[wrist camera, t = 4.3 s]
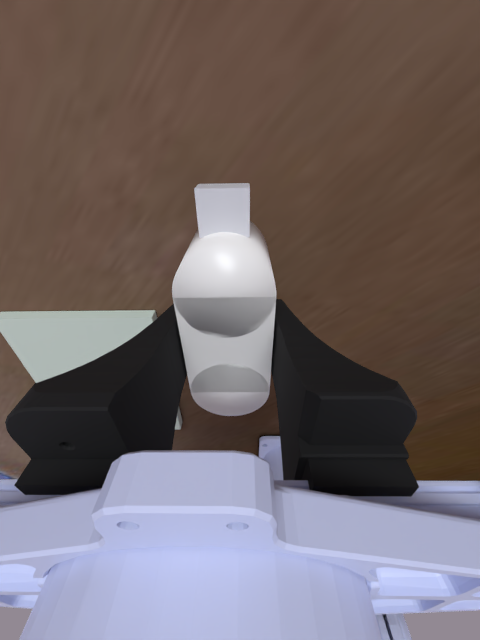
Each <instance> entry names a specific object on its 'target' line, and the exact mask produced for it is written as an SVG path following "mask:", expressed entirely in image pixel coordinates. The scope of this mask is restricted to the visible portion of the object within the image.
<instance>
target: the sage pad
mask: <svg viewBox="0 0 480 640" xmlns="http://www.w3.org/2000/svg"><path fill="white" fill-rule="evenodd" d="M156 319H157V315H156V311H155V310H130V311H26V312H0V332H1V333H2V335H3V336H4V337H5V339H6V340H7V342H8V343H9V345H10V346H11V348H12V349H13V350H14V352H15V353H16V355H17V356H18V358H19V359H20V361H21V362H22V363H23V365H24V366H25V368H26V369H27V371H28V372H29V374H30V375H31V376H32V378H33V379H34V381H35V382H36V383H37V382H40V381H43V380H46V379H49V378H52V377H54V376H57V375H60V374H63V373H65V372H68V371H70V370H73V369H75V368H77V367H80V366H82V365H84V364H86V363H89V362H91V361H93V360H95V359H97V358H99V357H101V356H103V355H104V354H106V353H108V352H110V351H112V350H114V349H116V348H117V347H119V346H121V345H122V344H124V343H125V342H127V341H128V340H130V339H131V338H133V337H134V336H136V335H137V334H139V333H140V332H141V331H142V330H144V329H145V328H146V327H147V326H149V325H150V324H151V323H152V322H154V321H155V320H156ZM181 426H182V417H181V413H180V409H179V407H178V413H177V418H176V425H175V429H181Z"/></svg>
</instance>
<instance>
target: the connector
mask: <svg viewBox="0 0 480 640" xmlns="http://www.w3.org/2000/svg"><path fill="white" fill-rule="evenodd" d="M194 191H195V200H196V210H197V219H198V228H199V229H198V230H197V232H196V234H195V236H194V237H193V240H192V242H191V244H190V246H189V248H188V250H187V252H186V254H185V256H184V258H183V260H182V262H181V264H180V266H179V268H178V270H177V272H176V274H175V277H174V280H173V285H172V296H173V302H174V307H175V312H176V318H177V323H178V328H179V333H180V338H181V344H182V349H183V354H184V359H185V365H186V370H187V375H188V380H189V386H190V391H191V395H192V397H193V399H194V400H195V402H196V403H197V404H198V405H199V406H200V407H202V408H203V409H205V410H207V411H209V412H211V413H214V414H218V415H223V416H240V415H245V414H248V413H251V412H254V411H255V410H257V409H259V408H260V407H261V406H263V405H264V403H265V402H266V401H267V399H268V397H269V392H270V378H271V364H272V350H273V336H274V322H275V308H276V286H275V281H274V276H273V272H272V267H271V262H270V258H269V253H268V248H267V244H266V241H265V238H264V236H263V234H262V233H261V231H260V230H259V229H258V227H257V226H256V225H255V224H253V223H252V222H251V221H250V185H249V183H228V184H198V185H197V186H196V187H195V188H194Z"/></svg>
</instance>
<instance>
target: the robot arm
mask: <svg viewBox="0 0 480 640" xmlns="http://www.w3.org/2000/svg"><path fill="white" fill-rule="evenodd" d="M271 371H272V376H273V381H274V386H275V391H276V398H277V407H278V418H279V429H280V436H262V437H260V439H259V457H258V456H256V455H254V454H253V453H247V452H240V451H215V450H172V444H173V438H174V431H175V425H176V418H177V413H178V407H179V401H180V397H181V392H182V389H183V385H184V382H185V379H186V375H187V370H186V365H185V359H184V354H183V349H182V344H181V338H180V333H179V328H178V323H177V318H176V312H175V307H174V304H173V305H172V306H170V307H169V308H168V309H167V310H166V311H165V312H164V313H163V314H162V315H161V316H159V317H158V318H157V319H156V320H155V321H154V322H152V323H151V324H150V325H149V326H147V327H146V328H145V329H144V330H142V331H141V332H140V333H139V334H137V335H136V336H134V337H133V338H131V339H130V340H128V341H127V342H125V343H124V344H122V345H121V346H119V347H117V348H116V349H114V350H112V351H110V352H108V353H106V354H104V355H103V356H101V357H99V358H97V359H95V360H93V361H91V362H89V363H86V364H84V365H82V366H80V367H77V368H75V369H73V370H70V371H68V372H65V373H63V374H60V375H57V376H54V377H52V378H49V379H46V380H43V381H40V382H37V383H35V384H34V385H33V386H32V388H31V389H30V390H29V391H28V392H27V394H26V395H25V396H24V397H23V398H22V400H21V401H20V402H19V403H18V404H17V405H16V407H15V408H14V409H13V410H12V411H11V413H10V414H9V415H8V416H7V419H6V422H5V423H6V428H7V431H8V433H9V434H10V436H11V437H12V438H13V439H14V441H15V442H16V443H17V444H18V445H19V446H20V447H21V448H22V449H23V450H24V451H25V452H26V453H27V454H28V456H29V457H30V458H31V461H30V462H29V464H28V465H27V467H26V468H25V470H24V471H23V473H22V474H21V476H20V477H19V479H0V607H14V608H29V609H33V610H32V612H31V614H30V616H29V618H28V621H27V623H26V625H25V628H24V630H23V632H22V634H21V637H20V639H19V640H412V638H411V636H410V632H409V629H408V627H407V624H406V621H405V618H404V616H403V613H424V612H449V611H474V610H480V481H416V479H415V477H414V475H413V473H412V471H411V469H410V467H409V465H408V463H407V461H406V459H408V458H409V455H408V452H407V450H406V448H405V446H404V444H403V443H404V441H405V440H406V438H407V436H408V435H409V433H410V432H411V430H412V428H413V427H414V425H415V422H416V420H417V411H416V409H415V408H414V406H413V405H412V403H411V401H410V399H409V398H408V396H407V395H406V393H405V392H404V390H403V389H402V387H401V386H400V385H399V383H398V382H397V381H395V380H392V379H390V378H387V377H385V376H383V375H380V374H378V373H376V372H373V371H371V370H369V369H367V368H365V367H363V366H361V365H359V364H357V363H355V362H353V361H352V360H350V359H348V358H346V357H345V356H343V355H341V354H340V353H338V352H337V351H335V350H334V349H332V348H331V347H329V346H328V345H326V344H325V343H324V342H322V341H321V340H320V339H319V338H317V337H316V336H315V335H314V334H313V333H311V332H310V331H309V330H308V329H307V328H306V327H305V326H304V325H303V324H302V323H301V322H300V321H299V320H298V318H297V317H296V316H295V315H294V314H293V313H292V312H291V310H290V309H289V308H288V307H287V305H286V304H285V303H284V302H283V301H282V300H281V299H276V308H275V322H274V336H273V350H272V364H271Z"/></svg>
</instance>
